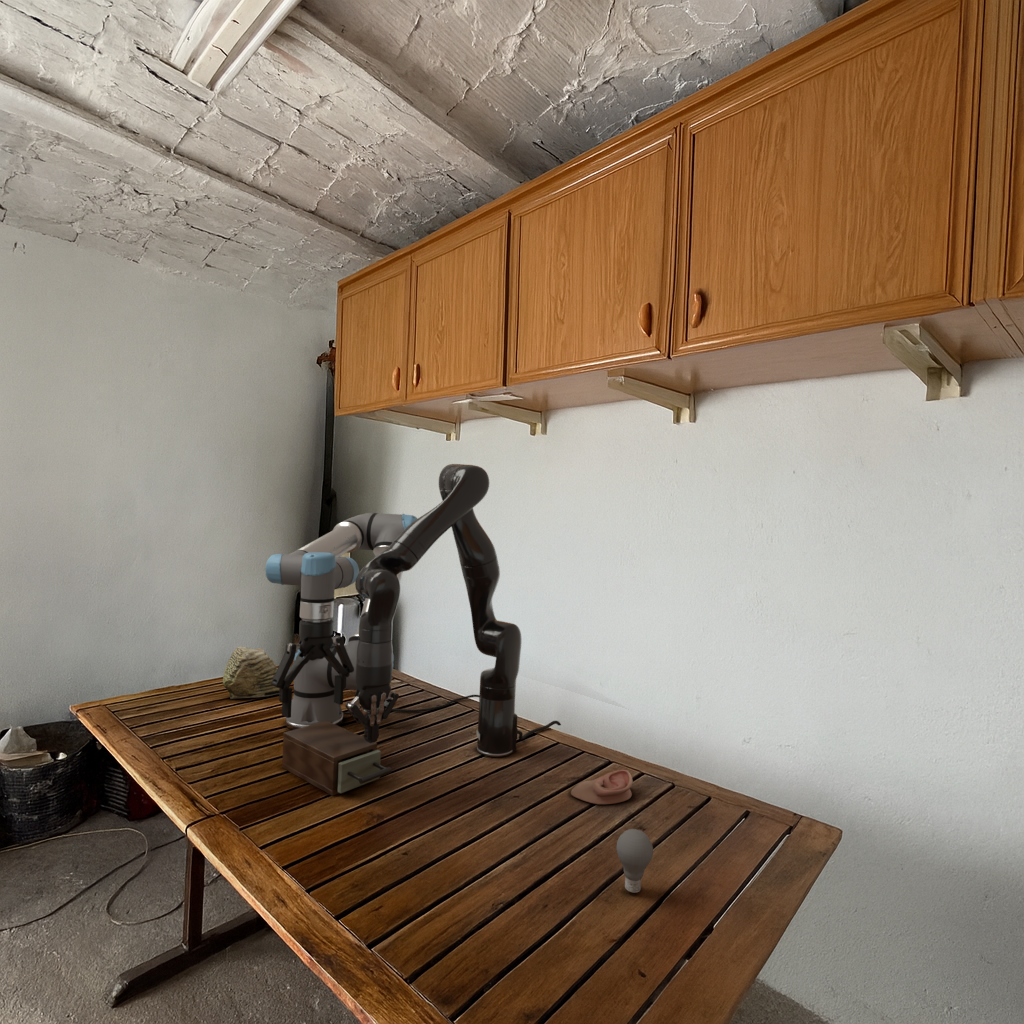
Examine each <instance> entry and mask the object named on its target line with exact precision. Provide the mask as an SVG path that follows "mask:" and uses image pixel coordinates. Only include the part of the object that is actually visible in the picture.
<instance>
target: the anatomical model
mask: <svg viewBox="0 0 1024 1024" xmlns="http://www.w3.org/2000/svg"><path fill="white" fill-rule="evenodd" d="M633 781H634V780H633V777H632V775H631V773H630V771H629V770H627V769H618V770H615V771H611V772H608V773H606V774H603V775H601V776H599V777H597V778H595V779H592V780H583V781H581V782H579V783H577V784H576V785H575V786H574V787H573V788H572V789H571V791H570V795H571V796H572V797H574V798H576V799H579V800H581V801H584V802H587V803H590V804H594V805H612V804H618V803H623V802H626V801H628V800H629V799H631V797H632V795H633V793H632V791H631V788H632V787H633V783H634V782H633Z"/></svg>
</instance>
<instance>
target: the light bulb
mask: <svg viewBox="0 0 1024 1024" xmlns="http://www.w3.org/2000/svg"><path fill="white" fill-rule="evenodd" d="M615 849H616V854H617V857H618V859H619V861H620V863H621V865H622V867H623V873H624V874H623V875H624V876H625V878H624V888H625V890H627V891H628V892H630V893H634V894H635V893H639V892H640V891H641V889H642V887H641V886H642V879H643V877H644V875H645V871H646V868H647V867H648V866H649V864H650V863H651V861H652V859H653V855H654V847H653V843H652V841H651V838H649V836H648V835H647V834H646V833H645V832H643V831H642V830H641V829H636V828H629V829H627V830H625V831H623V832H622V833H621V834H620V835H619V837H618V839H617V841H616V847H615Z"/></svg>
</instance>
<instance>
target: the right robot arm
mask: <svg viewBox="0 0 1024 1024" xmlns="http://www.w3.org/2000/svg"><path fill="white" fill-rule="evenodd" d="M489 489H490V477H489V474H488V472H487V471H486V470H485V469H484V468H483V467H481V466H478V465H476V464H475V465H474V464H464V463H463V464H461V463H451V464H447V465H445V466H444V467H443V468H442V469H441V471H440V472H439V476H438V490H439V493H440V497H441V500H442V501H441V502H440V503H438V505H437V504H436V506H435V507H433V508H432V509H430V510H429V511H428V512H426V513H424V514H422V515H421V516H420V517H417V519H416V520H415V521H414V522H412V523H411V524H410V525H409V526H408V527H406V528H405V529H404V530H403V532H402V533H401V534H400V535H399V536H398V537H397V538H396V539H395V540H394V542H393V543H392V544H391V545H390V546H389V547H388V548H387V549H386V550H385V551H383V552H382V553H380V554H379V555H378V556H374V558H372V559H371V560H370V561H369V562H367V563H366V564H365V565H364V566H363V567H362V568H361V570H359V574H358V576H357V578H356V581H355V582H354V587H355V590H356V592H357V593H358V594H359V596H361V597H362V598H364V599H366V598H367V599H370V602H369V608H368V612H365V613H363V614H362V613H361V614H362V615H361V614H360V617H359V621H360V622H359V621H358V625H359V641H358V647H357V661H356V684H357V690H355V692H354V698H353V699H352V700H351V701H347V702H346V703H345V705H344V706H345V709H346V710H347V712H350V714H351V715H350V716H352V718H353V719H354V720H355V721H356V723H358V724H361V725H363V726H364V727H363V737H364V739H365V740H366V741H367V742H369V743H373V742H375V743H377V742H378V739H379V737H380V725H381V723H382V721H383V720H387V719H388V717H389V715H390V714H391V712H392V711H391V710H392V709H394V707H395V705H396V703H397V701H398V699H400V694H399V693H397V692H394V691H393V690H392V686H391V683H392V678H393V671H392V659H393V654H394V647H393V629H394V628H393V627H394V626H393V622H394V618H395V615H396V611H397V608H398V604H399V601H400V596H401V582H399V578H398V576H397V575H398V574H399V573H400V572H403V573H404V572H409V571H410V570H412V569H413V568H414V567H416V565H417V564H418V563H419V562H420V561H421V560H422V558H423V557H424V556H425V555H426V554H427V552H428V551H429V550H430V549H431V548H432V547H433V545H434V544H435V543H436V542H437V541H439V539H440V538H441V537H442V536H443V535H444V534H446V533H447V531H448V530H449V529H450V528H451V531H452V534H453V538H454V543H455V547H456V549H457V555H458V559H459V565H460V568H461V572H462V577H463V580H464V583H465V588H466V592H467V598H468V603H469V608H470V614H471V622H472V631H473V637H474V638H473V639H474V642H475V647H476V648H477V650H478V651H479V652H480V653H481V654H483V655H485V656H488V657H492V658H495V664H494V667H491V668H486V669H484V670H482V671H481V673H480V676H479V695H480V696H479V697H478V700H479V701H478V719H477V720H478V721H477V729H476V738H477V739H476V742H477V743H476V751H477V753H479V754H481V755H482V756H486V757H490V758H502V757H507V756H509V755H511V754H513V753H516V752H517V740H518V739H519V740H520V741H523V740H525V739H526V738H528V737H529V736H531V735H532V734H534V733H537V732H538V733H539V732H541V731H544V730H547V729H548V728H550V727H552V726H553V725H557V726H562V724H561V722H560V721H559V720H552V721H551V722H549V723H547V724H545V725H542V726H539V727H537V728H533V729H531V730H529V731H527V732H526V733H525V734H523V732H522V731H521V730H519V729H518V714H517V713H516V712H515V710H516V690H517V689H516V688H517V687H516V686H517V678H518V675H519V671H520V663H521V652H522V643H523V642H522V639H523V638H522V632H521V629H520V627H519V626H518V625H517V624H515V623H512V622H507V621H503V620H498V619H497V618H496V616H495V612H494V605H493V597H494V595H495V592H496V590H497V587H498V586H499V585H498V584H499V581H500V577H501V569H500V568H501V567H500V563H499V559H498V553H497V550H496V548H495V545H494V543H493V542H492V540H491V538H490V537H489V535H488V533H487V531H485V529H484V528H483V526H482V525H481V523H480V522H479V520H478V518H477V516H476V513H475V511H474V508H475V507H476V506H477V505H479V503H481V502H482V501H483V500H484V498H485V497H486V496H487V494H488V492H489ZM385 709H386V710H385ZM384 710H385V711H384Z"/></svg>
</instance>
